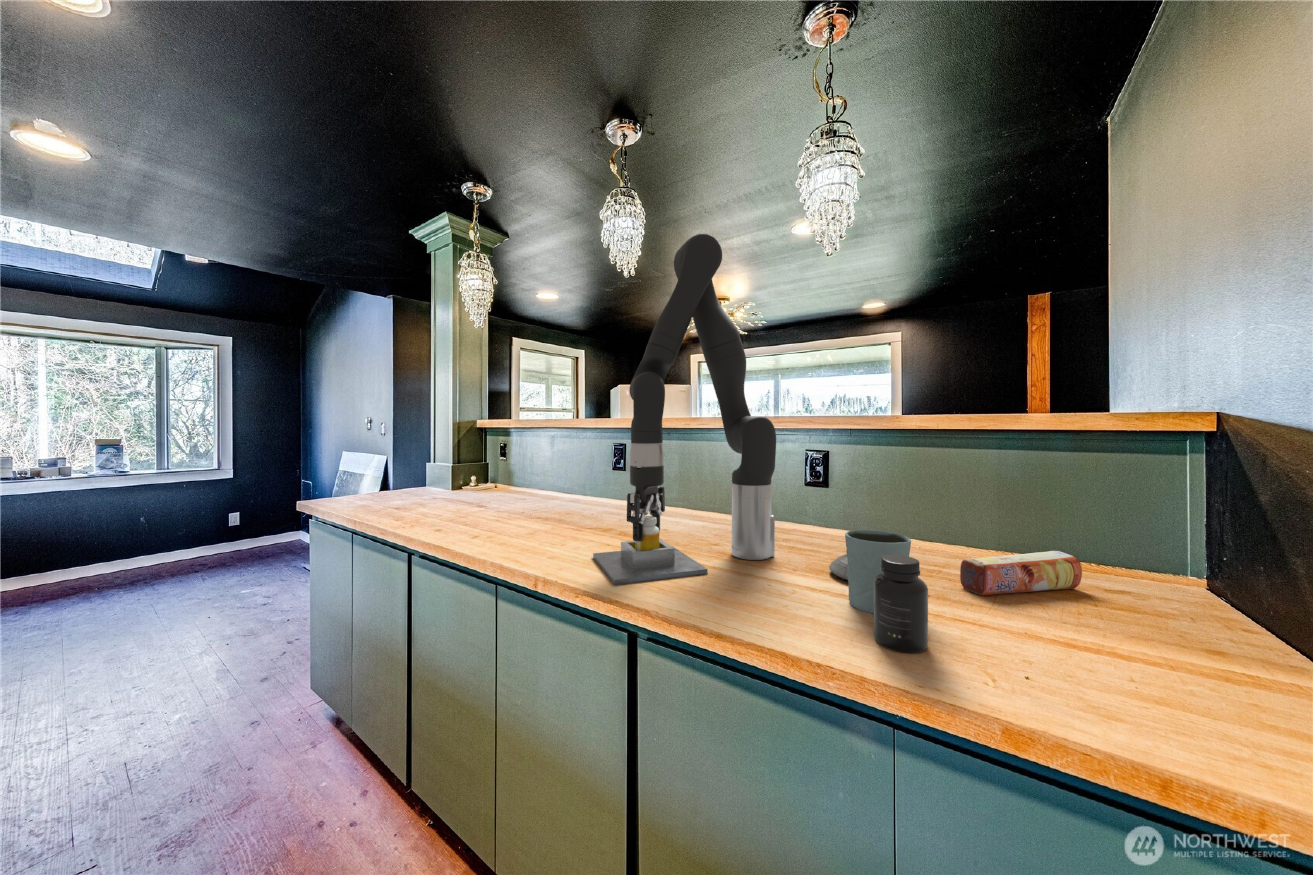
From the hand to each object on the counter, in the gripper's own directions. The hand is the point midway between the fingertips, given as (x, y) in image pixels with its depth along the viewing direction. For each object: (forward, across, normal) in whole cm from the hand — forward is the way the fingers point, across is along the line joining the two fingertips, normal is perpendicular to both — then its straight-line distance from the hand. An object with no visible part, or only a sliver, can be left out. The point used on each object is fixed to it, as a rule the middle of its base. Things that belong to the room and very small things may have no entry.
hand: (646, 536), depth 101 cm
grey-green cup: (+7, +4, +46) cm, 47 cm away
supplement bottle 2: (+7, +18, +49) cm, 52 cm away
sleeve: (+6, 0, 0) cm, 6 cm away
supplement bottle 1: (+6, 0, 0) cm, 6 cm away
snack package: (+7, -16, +70) cm, 73 cm away
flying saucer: (+7, -12, +44) cm, 47 cm away
